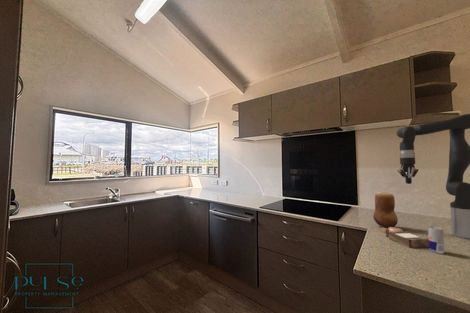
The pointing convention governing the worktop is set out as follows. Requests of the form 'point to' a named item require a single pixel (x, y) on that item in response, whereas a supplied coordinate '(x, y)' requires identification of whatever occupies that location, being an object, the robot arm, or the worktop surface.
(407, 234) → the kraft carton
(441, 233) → the energy drink
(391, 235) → the walnut display stand
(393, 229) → the cream small lump
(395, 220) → the butternut squash
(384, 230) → the oak block
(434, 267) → the worktop surface
